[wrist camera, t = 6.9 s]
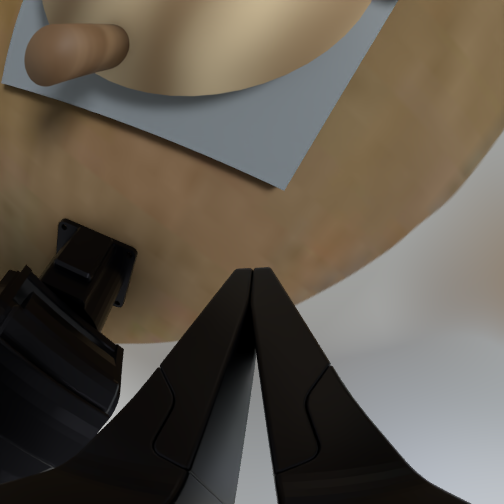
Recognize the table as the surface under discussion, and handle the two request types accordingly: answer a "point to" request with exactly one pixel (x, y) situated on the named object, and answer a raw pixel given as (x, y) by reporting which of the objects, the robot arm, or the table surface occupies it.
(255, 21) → the dial
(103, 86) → the plate
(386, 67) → the table surface
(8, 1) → the table surface
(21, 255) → the table surface
